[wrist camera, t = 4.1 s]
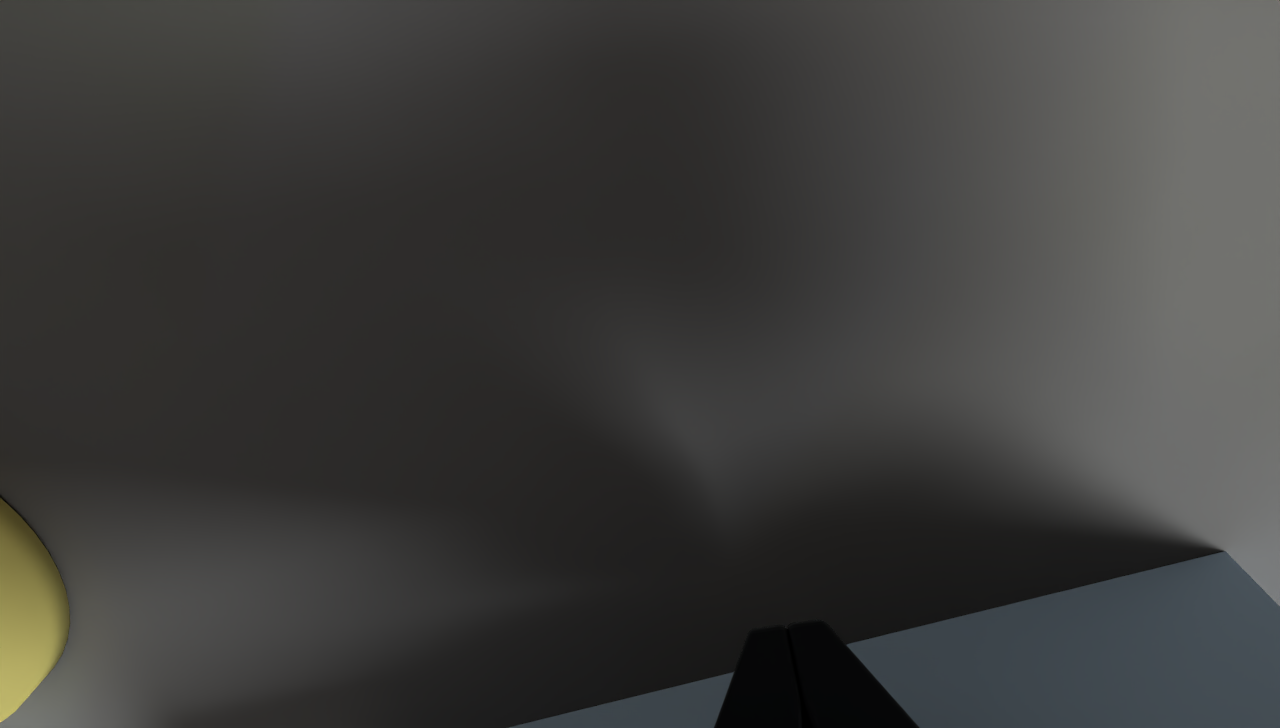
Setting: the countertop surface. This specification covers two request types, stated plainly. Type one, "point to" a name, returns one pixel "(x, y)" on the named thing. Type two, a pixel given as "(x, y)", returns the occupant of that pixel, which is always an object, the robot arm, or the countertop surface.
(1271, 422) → the countertop surface
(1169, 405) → the countertop surface
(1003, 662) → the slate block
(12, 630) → the bollards
